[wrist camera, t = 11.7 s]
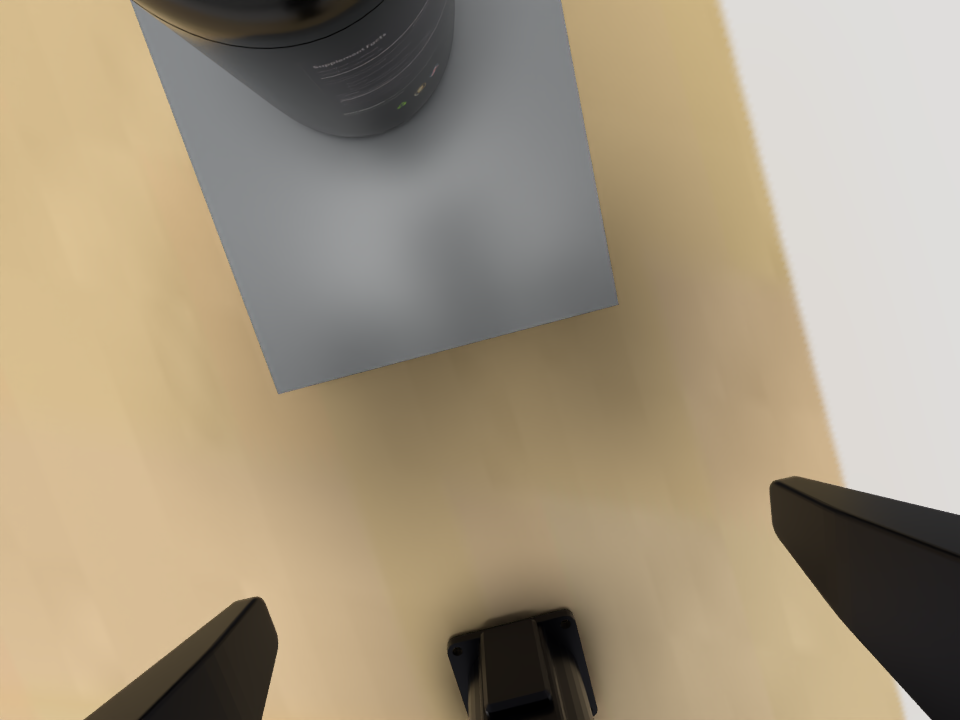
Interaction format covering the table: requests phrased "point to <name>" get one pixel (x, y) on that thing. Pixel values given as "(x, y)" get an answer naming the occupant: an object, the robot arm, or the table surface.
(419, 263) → the riser block
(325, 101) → the supplement bottle
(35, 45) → the table surface
